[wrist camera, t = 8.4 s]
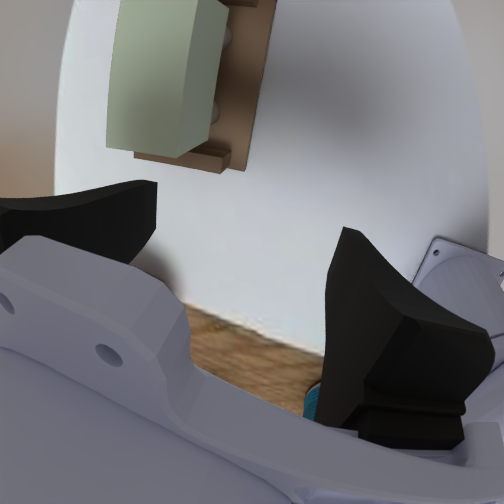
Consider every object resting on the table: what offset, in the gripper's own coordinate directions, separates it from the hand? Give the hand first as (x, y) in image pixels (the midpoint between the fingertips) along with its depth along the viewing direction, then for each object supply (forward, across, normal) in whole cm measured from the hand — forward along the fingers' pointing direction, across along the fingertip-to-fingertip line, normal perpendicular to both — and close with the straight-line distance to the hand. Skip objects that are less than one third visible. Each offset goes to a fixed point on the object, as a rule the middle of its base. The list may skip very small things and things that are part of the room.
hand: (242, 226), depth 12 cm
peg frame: (+10, +6, -5) cm, 13 cm away
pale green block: (+7, +6, -5) cm, 11 cm away
